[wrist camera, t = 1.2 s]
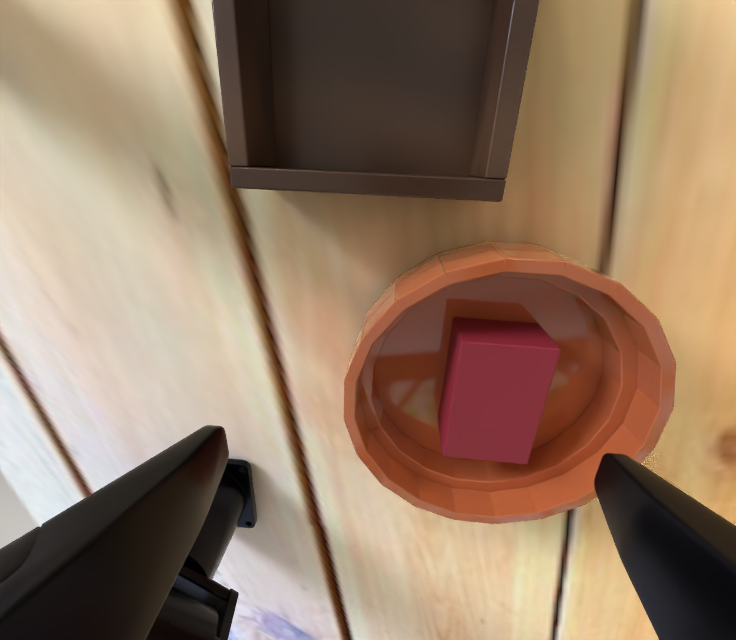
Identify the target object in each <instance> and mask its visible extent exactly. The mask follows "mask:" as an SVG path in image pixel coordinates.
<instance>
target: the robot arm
mask: <svg viewBox="0 0 736 640" xmlns="http://www.w3.org/2000/svg"><path fill="white" fill-rule="evenodd" d="M228 457H229V450H228V445H227V439H226V434H225V430H224V428H223V427H221V426H212V425H207V426H204V427H202V428H201V429H199V430H197V431H196V432H194V433H192V434H191V435H189V436H187V437H186V438H184V439H183V440H181V441H179V442H178V443H176V444H174V445H173V446H171V447H169V448H168V449H166V450H164V451H163V452H161V453H159V454H158V455H156V456H154V457H153V458H151V459H149V460H148V461H146V462H144V463H143V464H141V465H139V466H138V467H136V468H134V469H133V470H131V471H129V472H128V473H126V474H124V475H123V476H121V477H120V478H118V479H116V480H115V481H113V482H111V483H110V484H108V485H106V486H105V487H103V488H101V489H100V490H98V491H96V492H95V493H93V494H91V495H90V496H88V497H86V498H85V499H83V500H81V501H80V502H78V503H76V504H75V505H73V506H71V507H70V508H68V509H66V510H65V511H63V512H61V513H60V514H58V515H56V516H55V517H53V518H51V519H50V520H48V521H46V522H45V523H43V524H42V526H41V527H36V528H35V529H33V530H31V531H30V532H28V533H26V534H25V535H23V536H22V537H20V538H18V539H16V540H15V541H13V542H11V543H10V544H8V545H6V546H5V547H3V548H1V549H0V640H228V636H229V632H230V627H231V623H232V619H233V615H234V611H235V607H236V603H237V598H238V594H239V593H238V592H236V591H235V590H233V589H230V590H229V589H227V588H226V587H224V586H222V585H220V584H219V583H217V582H215V581H214V580H212V579H213V577H214V575H215V572H216V570H217V568H218V566H219V564H220V562H221V559H222V557H223V555H224V553H225V551H226V549H227V546H228V544H229V542H230V540H231V538H232V536H233V533H234V531H235V529H236V527H244V528H253V527H254V526H255V524H256V522H257V515H256V507H255V498H254V490H253V482H252V473H251V466H250V464H249V463H248V462H247V461H244V460H235V459H228ZM594 487H595V491H596V494H597V497H598V499H599V502H600V505H601V507H602V510H603V513H604V516H605V518H606V521H607V524H608V526H609V529H610V532H611V534H612V537H613V540H614V542H615V545H616V548H617V550H618V553H619V555H620V558H621V560H622V562H623V565H624V567H625V569H626V571H627V573H628V575H629V578H630V580H631V582H632V584H633V586H634V588H635V590H636V592H637V594H638V596H639V598H640V600H641V603H642V605H643V607H644V609H645V611H646V613H647V615H648V617H649V619H650V621H651V623H652V625H653V627H654V630H655V632H656V634H657V636H658V638H659V640H736V526H735V525H733V524H732V523H730V522H729V521H727V520H726V519H724V518H723V517H721V516H720V515H718V514H716V513H715V512H713V511H712V510H710V509H709V508H707V507H706V506H704V505H703V504H701V503H700V502H698V501H696V500H695V499H693V498H692V497H690V496H689V495H687V494H686V493H684V492H683V491H681V490H680V489H678V488H676V487H675V486H673V485H672V484H670V483H669V482H667V481H666V480H664V479H663V478H661V477H660V476H658V475H657V474H655V473H653V472H652V471H650V470H649V469H647V468H646V467H644V466H643V465H641V464H640V463H638V462H637V461H635V460H633V459H632V458H630V457H629V456H627V455H625V454H617V453H606V454H604V455H603V456H602V459H601V461H600V464H599V467H598V470H597V473H596V475H595V479H594Z"/></svg>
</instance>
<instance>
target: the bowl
mask: <svg viewBox="0 0 736 640" xmlns="http://www.w3.org/2000/svg"><path fill="white" fill-rule="evenodd" d="M454 317H460V318H473V319H487V320H501V321H514V322H528V323H538V324H539V325H540V326H541V327H542V328H543V329H544V330H545V331H546V333H547V334H548V335H549V336H550V337H551V338H552V340H553V341H554V342H555V343H556V344H557V345H558V346H559V348H560V349H561V351H560V355H559V358H558V362H557V365H556V368H555V372H554V375H553V379H552V382H551V385H550V389H549V392H548V396H547V399H546V402H545V406H544V409H543V413H542V416H541V419H540V423H539V426H538V430H537V433H536V436H535V440H534V443H533V446H532V450H531V453H530V457H529V460H528V463H527V464H517V463H506V462H496V461H486V460H476V459H466V458H456V457H445V456H443V455H442V447H441V440H440V433H439V426H438V415H439V409H440V402H441V395H442V389H443V382H444V375H445V369H446V362H447V356H448V349H449V342H450V336H451V329H452V322H453V318H454ZM675 372H676V362H675V359H674V357H673V354H672V352H671V349H670V347H669V344H668V342H667V339H666V337H665V334H664V332H663V329H662V327H661V324H660V322H659V320H658V319H657V317H656V316H654V315H653V314H652V313H651V312H650V311H649V310H648V309H647V308H646V307H645V306H644V305H643V304H642V303H641V302H640V301H639V300H638V299H637V298H636V297H634V296H633V295H632V294H631V293H630V292H629V291H628V290H627V289H626V288H625V287H624V286H623V285H622V284H620V283H619V282H617V281H615V280H613V279H611V278H610V277H608V276H606V275H604V274H602V273H600V272H598V271H596V270H595V269H593V268H591V267H589V266H587V265H585V264H583V263H581V262H579V261H577V260H574V259H572V258H569V257H567V256H564V255H562V254H560V253H557V252H555V251H552V250H550V249H547V248H545V247H542V246H540V245H536V244H522V243H505V242H482V243H478V244H474V245H470V246H466V247H462V248H458V249H454V250H450V251H446V252H442V253H438V254H436V255H434V256H433V257H431V258H429V259H428V260H426V261H424V262H423V263H421V264H419V265H418V266H416V267H414V268H413V269H411V270H409V271H408V272H406V273H404V274H403V275H401V276H399V277H398V278H397V279H395V280H394V282H393V283H392V284H391V285H390V286H389V287H388V288H387V290H386V291H385V292H384V293H383V294H382V295H381V296H380V298H379V299H378V300H377V301H376V302H375V303H374V304H373V306H372V307H371V308H370V309H369V311H368V312H367V314H366V317H365V319H364V322H363V324H362V327H361V329H360V332H359V334H358V336H357V339H356V341H355V344H354V347H353V350H352V354H351V358H350V361H349V365H348V369H347V372H346V376H345V381H344V421H345V423H346V426H347V429H348V432H349V434H350V437H351V440H352V442H353V445H354V448H355V451H356V453H357V455H358V457H359V458H360V459H361V460H362V461H363V463H364V464H365V465H366V466H367V467H368V469H369V470H370V471H371V472H372V474H373V475H374V476H375V477H376V478H377V480H378V481H379V482H380V483H381V484H382V485H383V486H385V487H386V488H388V489H389V490H391V491H392V492H394V493H395V494H397V495H398V496H400V497H401V498H403V499H404V500H406V501H407V502H409V503H410V504H412V505H414V506H415V507H418V508H421V509H424V510H427V511H430V512H433V513H436V514H438V515H441V516H444V517H447V518H450V519H454V520H462V521H471V522H480V523H490V524H495V523H496V524H501V523H510V522H520V521H530V520H539V519H543V518H546V517H549V516H552V515H555V514H558V513H561V512H564V511H567V510H570V509H573V508H576V507H580V506H582V505H585V504H586V503H588V502H590V501H591V500H593V499H595V498H596V497H597V494H596V491H595V487H594V479H595V475H596V473H597V470H598V467H599V464H600V461H601V459H602V456H603V455H604V454H606V453H617V454H625V455H627V456H629V457H630V458H632V459H633V460H635V461H637V462H638V463H641V462H642V461H643V460H644V459H645V457H646V456H647V455H648V454H649V453H650V452H651V451H652V450H653V449H654V448H655V446H656V444H657V442H658V440H659V438H660V435H661V433H662V431H663V429H664V427H665V425H666V423H667V421H668V419H669V416H670V414H671V412H672V410H673V407H674V391H675Z"/></svg>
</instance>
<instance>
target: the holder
mask: <svg viewBox="0 0 736 640" xmlns="http://www.w3.org/2000/svg"><path fill="white" fill-rule="evenodd" d="M538 5H539V0H212V9H213V18H214V28H215V37H216V47H217V56H218V66H219V75H220V85H221V95H222V104H223V114H224V123H225V133H226V142H227V152H228V161H229V165H230V167H229V171H230V180H231V187H232V188H243V189H263V190H282V191H301V192H321V193H340V194H359V195H379V196H398V197H417V198H437V199H456V200H475V201H495V202H501V201H502V200H503V194H504V189H505V183H506V180H505V179H506V178H507V173H508V168H509V162H510V157H511V151H512V146H513V141H514V135H515V130H516V124H517V119H518V113H519V108H520V103H521V97H522V92H523V86H524V81H525V76H526V70H527V65H528V59H529V54H530V48H531V43H532V38H533V32H534V27H535V21H536V16H537V11H538Z"/></svg>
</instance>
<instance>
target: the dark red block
mask: <svg viewBox="0 0 736 640" xmlns="http://www.w3.org/2000/svg"><path fill="white" fill-rule="evenodd" d="M560 351H561V349H560V348H559V346H558V345H557V344H556V343H555V342H554V341H553V340H552V338H551V337H550V336H549V335H548V334H547V333H546V331H545V330H544V329H543V328H542V327H541V326H540V325H539V324H538V323H528V322H514V321H501V320H487V319H473V318H460V317H454V318H453V322H452V329H451V336H450V342H449V349H448V356H447V362H446V369H445V375H444V382H443V389H442V395H441V402H440V409H439V415H438V426H439V433H440V440H441V447H442V455H443V456H445V457H456V458H466V459H476V460H486V461H496V462H506V463H517V464H527V463H528V460H529V457H530V453H531V450H532V446H533V443H534V440H535V436H536V433H537V430H538V426H539V423H540V419H541V416H542V413H543V409H544V406H545V402H546V399H547V396H548V392H549V389H550V385H551V382H552V379H553V375H554V372H555V368H556V365H557V362H558V358H559V355H560Z"/></svg>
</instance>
